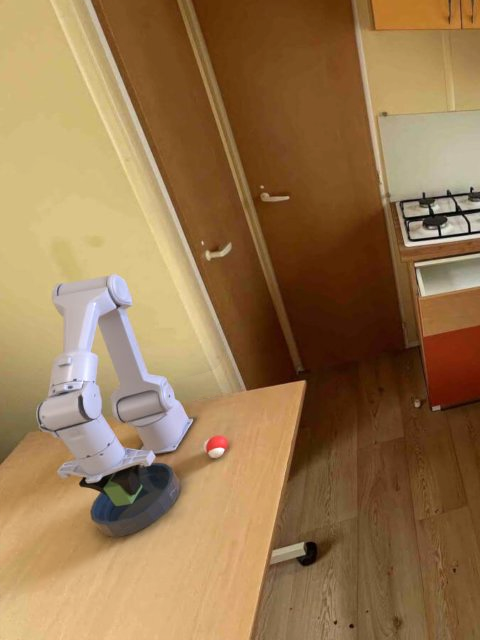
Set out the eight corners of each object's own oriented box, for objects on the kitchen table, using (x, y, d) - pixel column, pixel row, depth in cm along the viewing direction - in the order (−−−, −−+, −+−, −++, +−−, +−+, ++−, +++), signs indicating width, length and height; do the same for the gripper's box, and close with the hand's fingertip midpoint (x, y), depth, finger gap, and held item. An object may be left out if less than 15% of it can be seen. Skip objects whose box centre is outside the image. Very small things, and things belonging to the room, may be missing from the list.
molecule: (233, 443, 102) (228, 431, 100) (222, 461, 97) (216, 448, 95) (212, 444, 101) (206, 432, 99) (200, 462, 97) (193, 449, 95)
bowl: (126, 481, 93) (117, 468, 91) (192, 471, 95) (185, 458, 93) (84, 544, 81) (72, 530, 79) (160, 531, 83) (151, 517, 81)
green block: (127, 489, 84) (115, 471, 82) (142, 486, 85) (131, 468, 82) (115, 506, 81) (102, 488, 79) (132, 503, 82) (119, 486, 79)
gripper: (29, 471, 71) (68, 518, 78) (126, 457, 74) (156, 505, 80) (61, 436, 77) (94, 483, 84) (149, 425, 80) (175, 471, 86)
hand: (126, 491), depth 82 cm, fingers closed on green block, 3 cm apart
